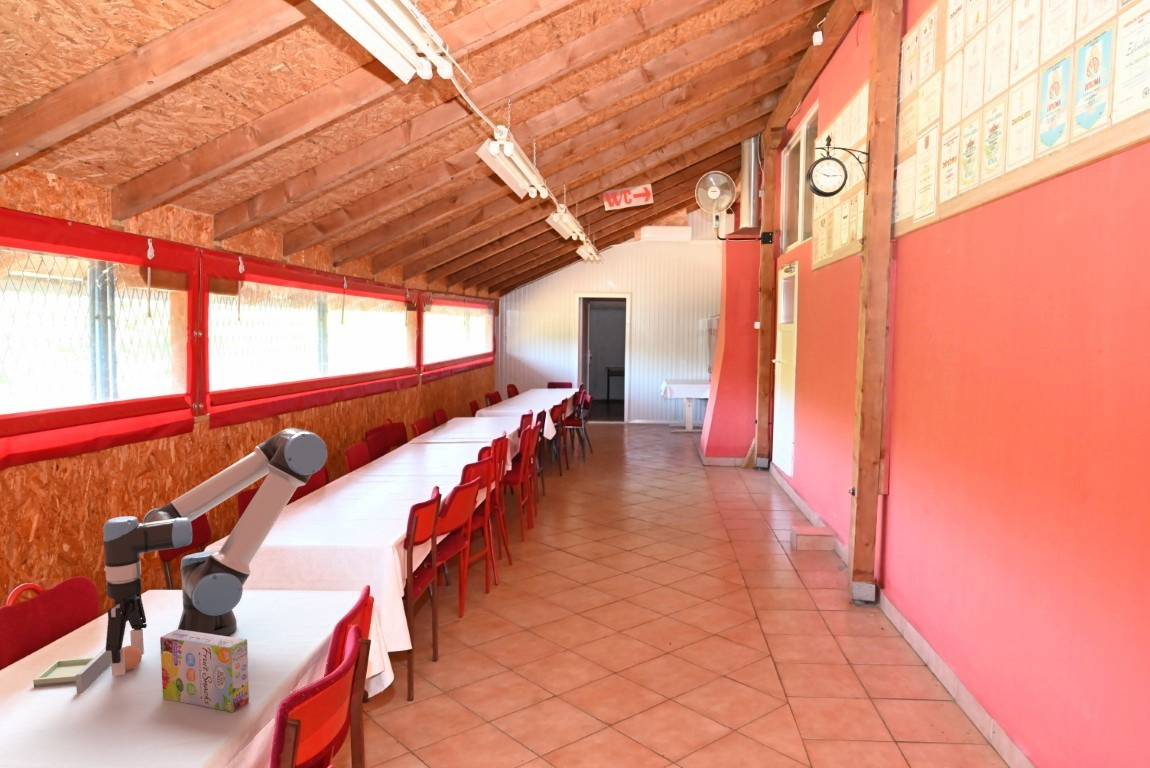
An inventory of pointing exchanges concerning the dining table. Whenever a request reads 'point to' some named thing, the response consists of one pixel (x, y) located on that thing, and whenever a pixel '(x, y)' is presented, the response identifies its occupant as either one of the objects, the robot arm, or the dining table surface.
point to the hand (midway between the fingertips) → (128, 664)
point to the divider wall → (93, 670)
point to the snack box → (205, 669)
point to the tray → (61, 672)
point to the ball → (132, 657)
